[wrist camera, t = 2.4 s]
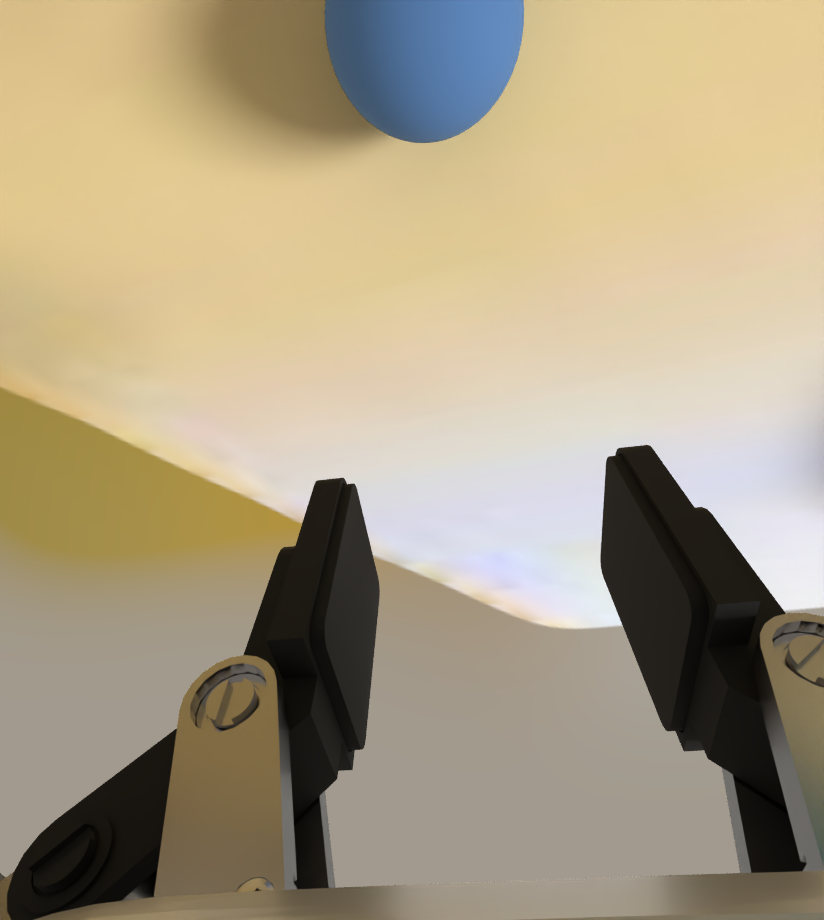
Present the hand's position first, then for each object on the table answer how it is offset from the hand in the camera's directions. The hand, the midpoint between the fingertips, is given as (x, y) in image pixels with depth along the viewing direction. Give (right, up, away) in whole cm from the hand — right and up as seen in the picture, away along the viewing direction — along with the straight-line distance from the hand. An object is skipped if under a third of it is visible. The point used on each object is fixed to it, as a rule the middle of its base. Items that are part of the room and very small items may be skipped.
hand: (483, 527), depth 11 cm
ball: (-1, +15, +6) cm, 16 cm away
